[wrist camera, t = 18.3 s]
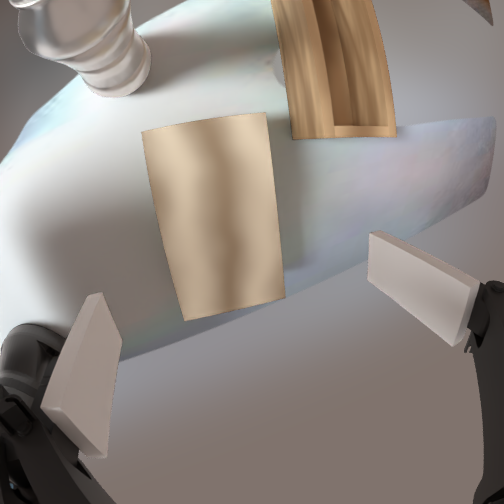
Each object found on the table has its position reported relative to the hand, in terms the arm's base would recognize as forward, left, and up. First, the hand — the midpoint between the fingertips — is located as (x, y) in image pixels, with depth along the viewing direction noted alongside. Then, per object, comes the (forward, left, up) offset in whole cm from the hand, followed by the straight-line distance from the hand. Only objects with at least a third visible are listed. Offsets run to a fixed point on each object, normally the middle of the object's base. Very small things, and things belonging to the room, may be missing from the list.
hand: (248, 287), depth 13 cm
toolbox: (+13, +17, -17) cm, 27 cm away
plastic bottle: (-7, +16, -17) cm, 24 cm away
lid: (0, 0, -14) cm, 14 cm away
